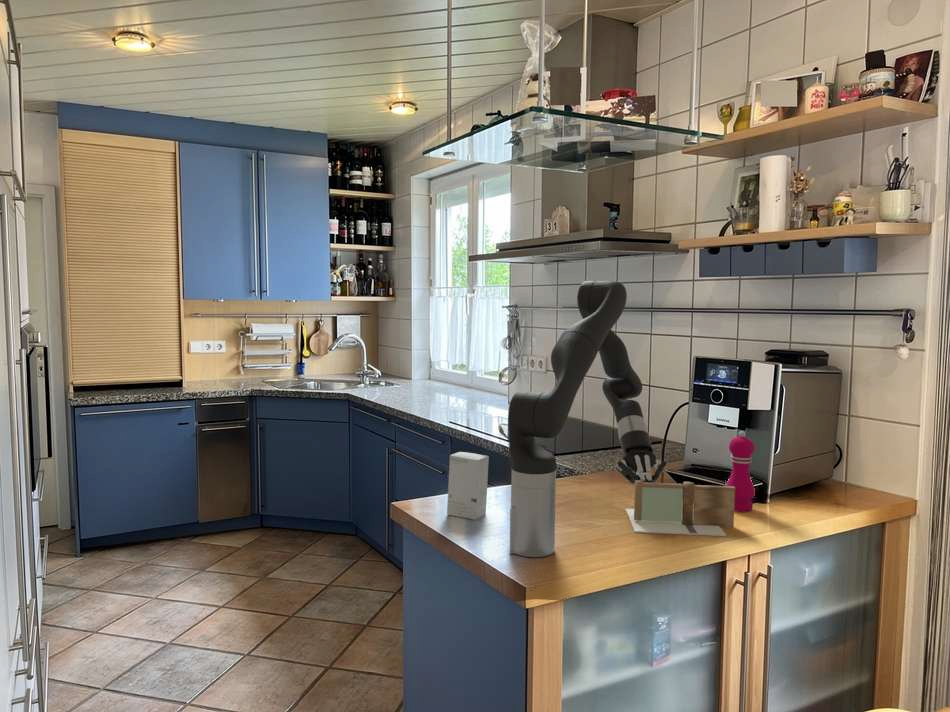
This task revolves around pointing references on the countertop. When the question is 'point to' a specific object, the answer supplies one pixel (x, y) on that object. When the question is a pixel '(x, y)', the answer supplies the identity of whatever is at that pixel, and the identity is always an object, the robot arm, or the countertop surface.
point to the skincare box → (467, 485)
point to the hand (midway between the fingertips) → (648, 496)
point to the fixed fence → (708, 505)
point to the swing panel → (658, 501)
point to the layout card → (673, 527)
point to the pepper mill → (741, 472)
